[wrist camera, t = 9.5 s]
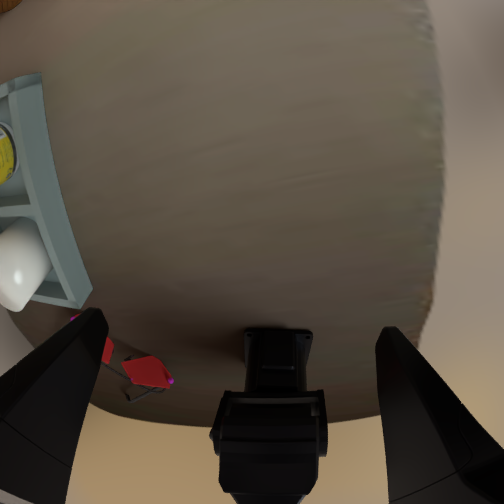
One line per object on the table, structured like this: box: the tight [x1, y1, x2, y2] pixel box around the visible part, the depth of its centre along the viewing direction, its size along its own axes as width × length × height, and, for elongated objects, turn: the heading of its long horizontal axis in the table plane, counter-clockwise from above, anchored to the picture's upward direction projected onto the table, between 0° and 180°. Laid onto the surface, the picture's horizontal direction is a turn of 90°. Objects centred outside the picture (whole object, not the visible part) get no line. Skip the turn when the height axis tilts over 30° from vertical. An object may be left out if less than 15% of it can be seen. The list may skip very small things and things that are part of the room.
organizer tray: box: [0, 72, 93, 309], centre depth 20 cm, size 21×11×3 cm, turn 0°
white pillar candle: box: [0, 217, 54, 312], centre depth 21 cm, size 6×6×6 cm
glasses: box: [71, 314, 174, 403], centre depth 33 cm, size 14×16×5 cm
